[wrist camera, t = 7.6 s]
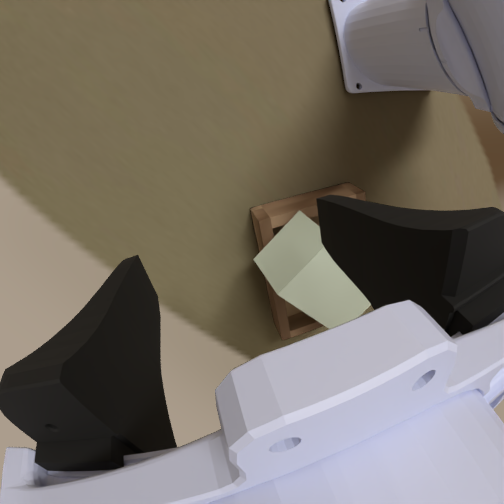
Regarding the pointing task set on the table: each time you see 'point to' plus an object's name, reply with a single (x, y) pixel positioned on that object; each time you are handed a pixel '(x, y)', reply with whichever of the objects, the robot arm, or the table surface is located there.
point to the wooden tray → (268, 226)
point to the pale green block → (310, 274)
